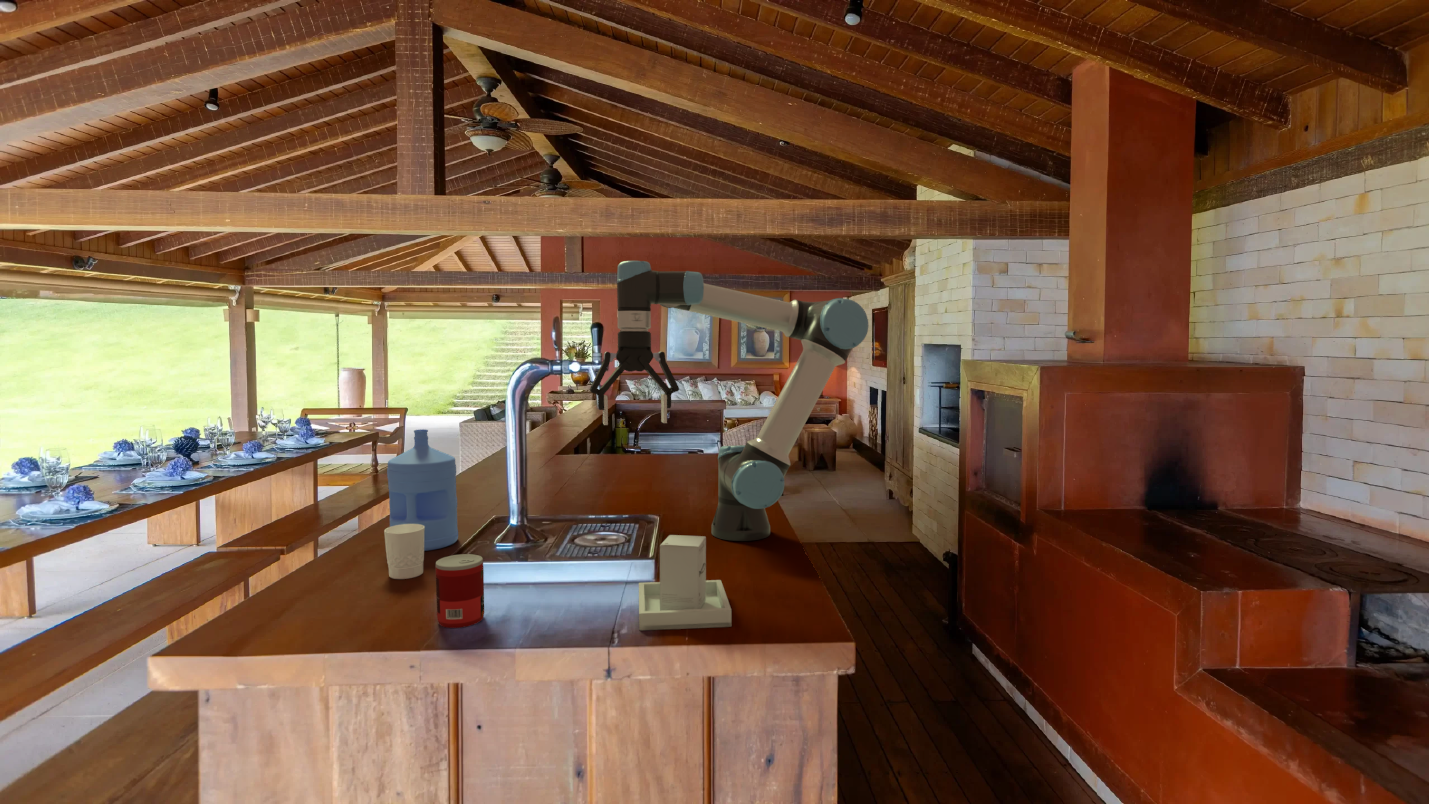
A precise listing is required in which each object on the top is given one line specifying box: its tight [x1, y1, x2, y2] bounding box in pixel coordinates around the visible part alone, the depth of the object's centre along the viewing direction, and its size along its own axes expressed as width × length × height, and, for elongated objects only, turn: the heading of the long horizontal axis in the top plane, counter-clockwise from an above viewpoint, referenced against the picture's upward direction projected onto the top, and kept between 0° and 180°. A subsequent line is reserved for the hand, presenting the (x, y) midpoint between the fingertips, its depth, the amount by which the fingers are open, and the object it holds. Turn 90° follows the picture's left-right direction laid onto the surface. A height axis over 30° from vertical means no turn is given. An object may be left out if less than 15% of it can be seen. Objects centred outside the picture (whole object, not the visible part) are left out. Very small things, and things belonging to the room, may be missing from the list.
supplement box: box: [659, 534, 707, 611], centre depth 134 cm, size 7×7×13 cm
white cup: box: [383, 524, 425, 580], centre depth 155 cm, size 8×8×10 cm
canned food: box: [435, 553, 485, 629], centre depth 130 cm, size 8×8×11 cm
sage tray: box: [638, 579, 732, 631], centre depth 134 cm, size 16×16×3 cm
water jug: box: [386, 428, 459, 552], centre depth 178 cm, size 16×16×28 cm
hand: (635, 423), depth 167 cm, fingers open, 13 cm apart
